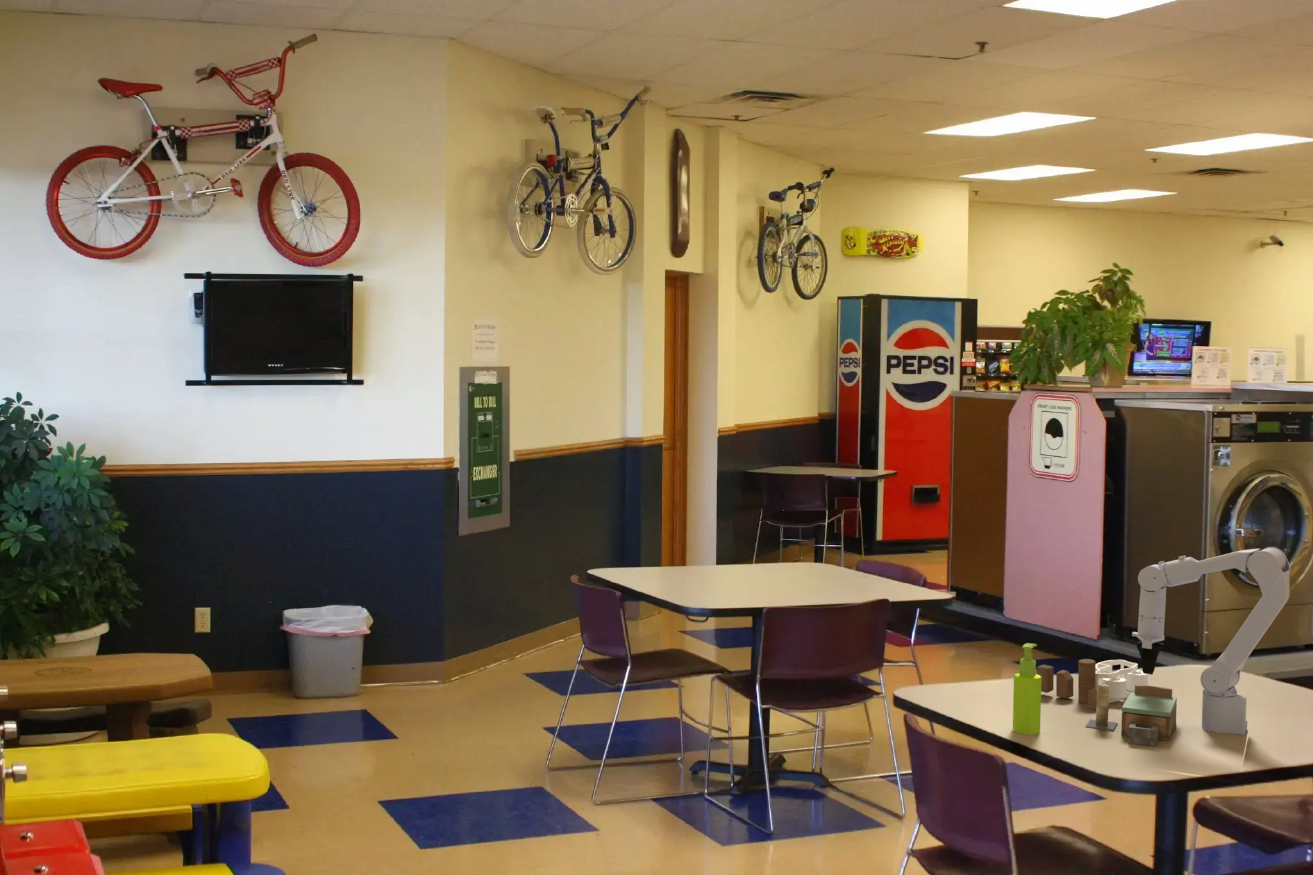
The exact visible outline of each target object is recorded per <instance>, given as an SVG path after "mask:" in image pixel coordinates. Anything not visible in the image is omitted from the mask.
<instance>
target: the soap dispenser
mask: <svg viewBox="0 0 1313 875" xmlns="http://www.w3.org/2000/svg"><path fill="white" fill-rule="evenodd" d="M1035 647H1038V644H1037V643H1029V642H1026V643H1024V644H1023V645H1022V650H1023V653H1024V654H1023V657H1022V658H1020V659H1019V672H1018V673H1017V672H1016V673H1014V674H1013V697H1012V698H1013V702H1012V705H1013V706H1012V709H1013V710H1012V730H1013V729H1014V730H1015V731H1017V732H1019V733H1018V734H1021V733H1025V734H1024V735H1027V734H1029V735H1031V736H1033V735H1039V734H1040V733H1041V715H1042V714H1041V711H1042V710H1041V708H1042V707H1041V705H1042V692H1041V676H1040V675H1038V674H1037V667H1036V665H1037V660H1036V659H1034V657H1033V648H1035ZM1015 731H1014V732H1015ZM1017 732H1016V733H1017ZM1029 735H1028V736H1029Z"/></svg>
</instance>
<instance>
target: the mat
mask: <svg viewBox="0 0 1313 875" xmlns="http://www.w3.org/2000/svg"><path fill="white" fill-rule="evenodd" d="M1117 726H1118V722H1116V721H1108V725H1107V726H1099V725H1096V719H1089V720H1088V722H1087V724H1086V725H1085V728H1089V729H1095V730H1101V731H1109V732H1114V731H1115V730H1116V728H1117Z"/></svg>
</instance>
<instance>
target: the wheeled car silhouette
mask: <svg viewBox="0 0 1313 875" xmlns="http://www.w3.org/2000/svg"><path fill="white" fill-rule="evenodd" d="M1117 665H1120V669H1118V670H1116V671H1114V672H1113V666H1117ZM1138 666H1139V664H1138V663H1136V662H1131V661H1128V660H1125V659H1110V660H1109V659H1108V660H1104V661H1100V662H1097V663H1096V683H1095V689H1096V690H1097V686H1098V684H1106V685H1109V686H1110V688H1109V704H1110V703H1116V702H1118V701H1119V700H1123V699H1127V698H1128V696H1129V695H1130V693H1131V692H1133V693H1135V685H1145V686H1149V683H1148V682H1149V680H1148V679H1149V674H1144V673H1143V670H1140V669H1138ZM1125 667H1127V668H1125ZM1127 691H1128V692H1127Z"/></svg>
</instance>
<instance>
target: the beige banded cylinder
mask: <svg viewBox="0 0 1313 875" xmlns="http://www.w3.org/2000/svg"><path fill="white" fill-rule="evenodd" d="M1109 688H1110V686H1109V685H1106V684H1102V683H1100V684H1098V686H1097V706H1095V707H1096V710H1095V711H1096V712H1095V713H1096V714H1095V720H1096V725H1099V726H1107V725H1108V722H1109V710H1110V709H1109V707H1110V705H1109V704H1110V703H1109Z"/></svg>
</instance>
